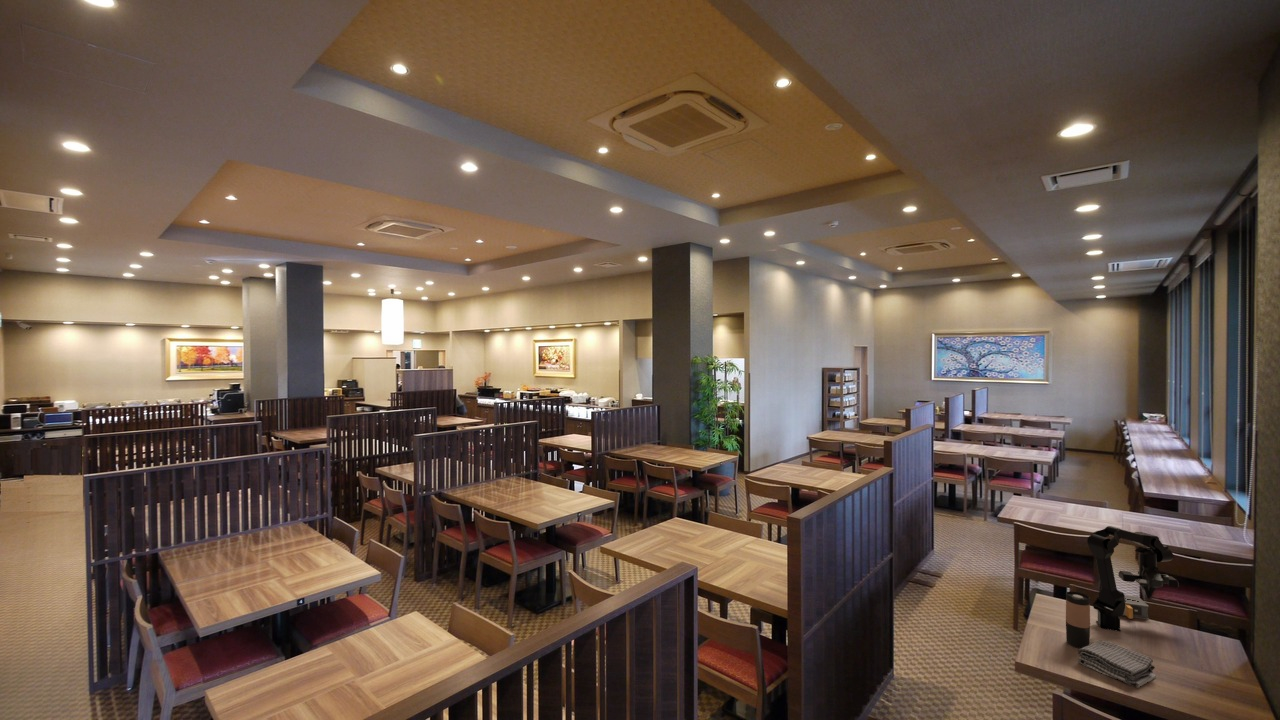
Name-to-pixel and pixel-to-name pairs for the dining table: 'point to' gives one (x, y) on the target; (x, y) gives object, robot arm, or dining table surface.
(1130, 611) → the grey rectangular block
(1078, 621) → the travel mug
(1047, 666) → the dining table surface
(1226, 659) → the dining table surface
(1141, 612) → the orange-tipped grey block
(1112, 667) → the towel
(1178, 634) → the dining table surface
